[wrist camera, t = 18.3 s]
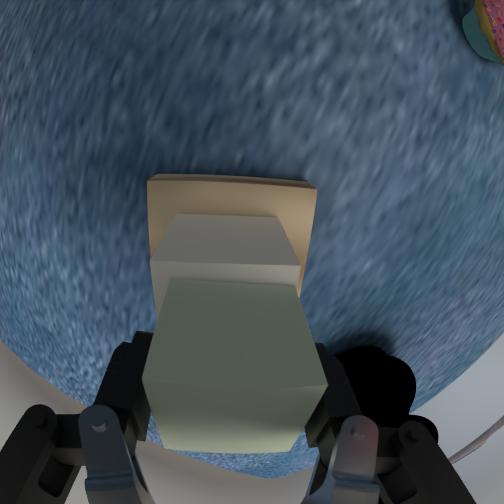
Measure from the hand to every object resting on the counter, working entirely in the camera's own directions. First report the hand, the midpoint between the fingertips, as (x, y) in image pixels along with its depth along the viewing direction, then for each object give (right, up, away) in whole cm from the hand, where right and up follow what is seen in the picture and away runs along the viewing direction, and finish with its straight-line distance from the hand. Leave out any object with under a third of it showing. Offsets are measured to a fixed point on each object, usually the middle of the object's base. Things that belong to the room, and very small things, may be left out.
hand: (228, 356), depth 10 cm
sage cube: (0, +1, +2) cm, 2 cm away
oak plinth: (-1, +5, +10) cm, 11 cm away
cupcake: (+22, +24, +2) cm, 33 cm away
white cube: (-1, +3, +7) cm, 8 cm away
